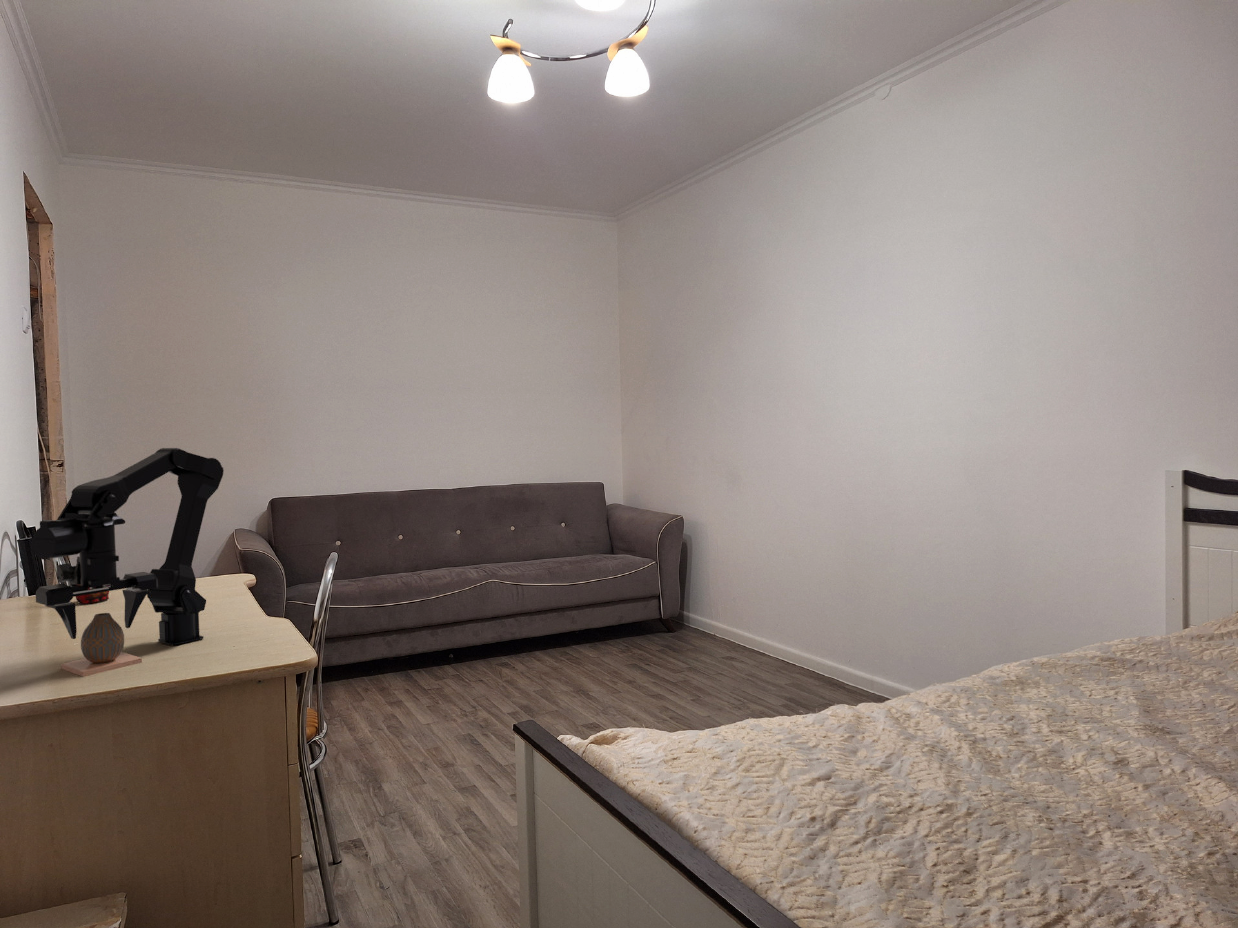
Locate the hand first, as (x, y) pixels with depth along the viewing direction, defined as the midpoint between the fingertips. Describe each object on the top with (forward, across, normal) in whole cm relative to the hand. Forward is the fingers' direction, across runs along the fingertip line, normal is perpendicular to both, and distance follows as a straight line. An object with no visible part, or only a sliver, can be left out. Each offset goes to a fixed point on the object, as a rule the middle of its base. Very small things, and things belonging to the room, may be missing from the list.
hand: (101, 633), depth 150 cm
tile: (+6, 0, -5) cm, 8 cm away
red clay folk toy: (+6, -23, -64) cm, 69 cm away
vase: (+6, 0, 0) cm, 6 cm away
